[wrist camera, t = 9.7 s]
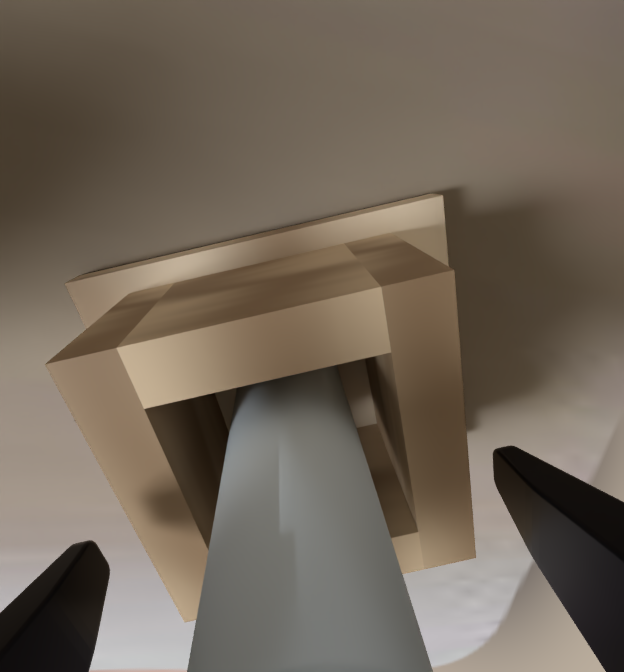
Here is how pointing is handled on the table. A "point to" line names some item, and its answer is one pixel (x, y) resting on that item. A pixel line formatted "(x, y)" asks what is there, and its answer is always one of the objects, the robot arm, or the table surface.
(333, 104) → the table surface
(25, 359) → the table surface
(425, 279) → the bottle holder
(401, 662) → the peg
